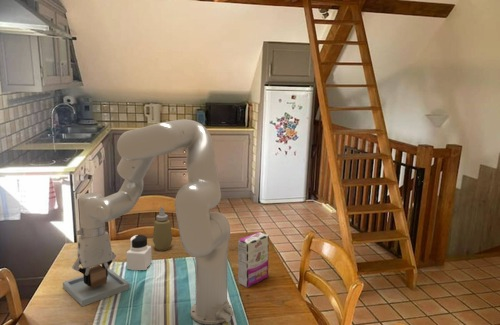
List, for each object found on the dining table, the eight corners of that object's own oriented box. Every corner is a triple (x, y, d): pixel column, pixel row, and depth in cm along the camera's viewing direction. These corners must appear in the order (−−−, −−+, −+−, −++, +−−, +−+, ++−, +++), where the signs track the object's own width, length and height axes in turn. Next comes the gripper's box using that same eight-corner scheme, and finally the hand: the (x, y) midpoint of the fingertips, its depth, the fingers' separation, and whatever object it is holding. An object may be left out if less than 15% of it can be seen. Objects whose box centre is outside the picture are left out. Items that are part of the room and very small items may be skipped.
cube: (106, 283, 133) (105, 269, 132) (92, 288, 130) (91, 274, 129) (100, 278, 137) (99, 264, 136) (85, 282, 133) (84, 269, 132)
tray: (129, 288, 134) (129, 283, 133) (82, 306, 123) (81, 300, 122) (108, 272, 145) (108, 267, 144) (63, 287, 134) (62, 282, 133)
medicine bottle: (151, 263, 153) (151, 233, 151) (145, 271, 146) (144, 240, 144) (134, 261, 154) (133, 232, 152) (126, 270, 147) (125, 239, 145)
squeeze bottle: (176, 247, 169) (175, 206, 166) (163, 253, 162) (162, 211, 159) (162, 242, 173) (161, 203, 170) (149, 249, 166) (147, 208, 163)
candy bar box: (258, 273, 147) (259, 231, 144) (268, 277, 144) (269, 234, 140) (236, 283, 139) (237, 239, 136) (247, 288, 136) (247, 243, 132)
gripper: (71, 240, 121) (75, 295, 125) (122, 227, 133) (125, 277, 136) (62, 233, 126) (66, 286, 130) (112, 222, 138) (114, 270, 142)
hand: (96, 281), depth 133 cm, fingers closed on cube, 4 cm apart
